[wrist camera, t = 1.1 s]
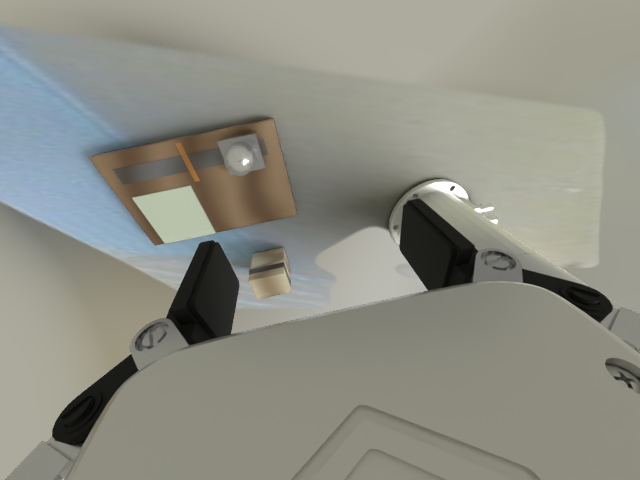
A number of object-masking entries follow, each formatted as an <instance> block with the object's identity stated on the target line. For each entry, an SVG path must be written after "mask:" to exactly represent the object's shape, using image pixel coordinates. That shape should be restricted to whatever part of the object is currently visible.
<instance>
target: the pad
mask: <svg viewBox="0 0 640 480" xmlns="http://www.w3.org/2000/svg"><path fill="white" fill-rule="evenodd" d="M132 199H133V200H134V202H135V203H136V204H137V206H138V207H139V209H140V210H141V211H142V213H143V214H144V215H145V217H146V218H147V220H148V221H149V222H150V224H151V225H152V227H153V228H154V229H155V231H156V232H157V234H158V235H159V236H160V238H161V239H162V240H163V242H164V243H165V244H168V243H173V242H177V241H182V240H187V239H191V238H196V237H201V236H205V235H210V234H215V233H216V232H215V230H214V228H213V226H212V225H211V223H210V221H209V219H208V217H207V215H206V213H205V211H204V210H203V208H202V206H201V204H200V202H199V200H198V198H197V196H196V195H195V193H194V191H193V189H192V187H191V185H189V186H185V187H180V188H175V189H170V190H165V191H161V192H156V193H151V194H146V195H141V196H137V197H133V198H132Z"/></svg>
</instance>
